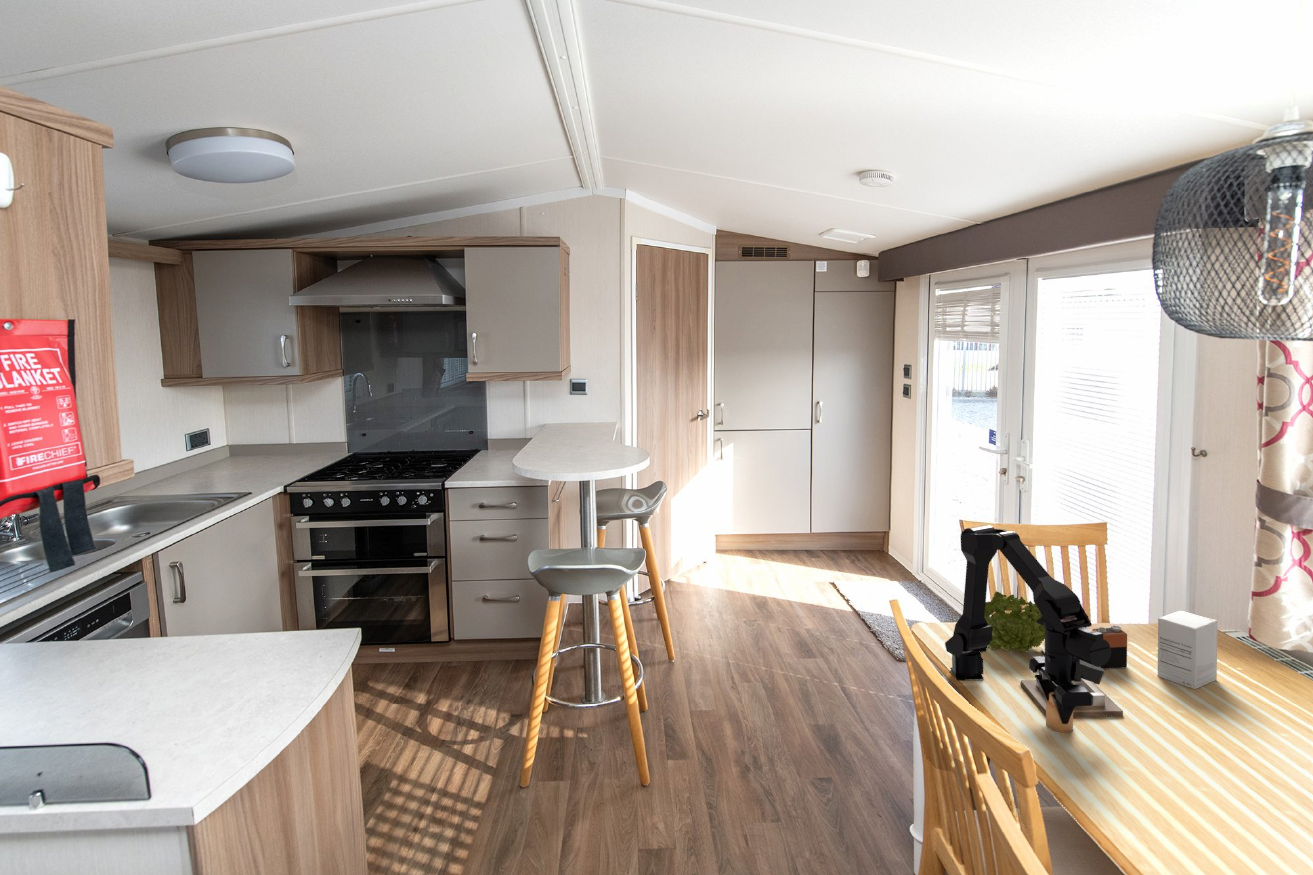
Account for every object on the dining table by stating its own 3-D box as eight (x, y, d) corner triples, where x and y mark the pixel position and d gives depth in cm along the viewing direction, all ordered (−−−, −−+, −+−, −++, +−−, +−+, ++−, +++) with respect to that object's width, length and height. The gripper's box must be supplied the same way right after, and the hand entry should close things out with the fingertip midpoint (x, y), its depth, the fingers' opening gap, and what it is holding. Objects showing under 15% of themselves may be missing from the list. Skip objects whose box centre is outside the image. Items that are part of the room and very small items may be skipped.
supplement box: (1178, 667, 191) (1179, 609, 189) (1217, 680, 183) (1219, 620, 181) (1155, 675, 188) (1156, 617, 186) (1194, 689, 180) (1196, 628, 178)
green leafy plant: (1031, 616, 217) (1062, 594, 204) (1031, 668, 209) (1063, 649, 196) (968, 597, 219) (995, 574, 205) (966, 648, 210) (993, 628, 197)
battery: (1127, 668, 193) (1128, 630, 191) (1100, 669, 193) (1100, 631, 191) (1117, 660, 197) (1118, 623, 196) (1090, 662, 197) (1091, 624, 196)
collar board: (1047, 717, 172) (1047, 701, 171) (1020, 684, 188) (1020, 670, 187) (1122, 716, 170) (1123, 700, 170) (1089, 683, 186) (1089, 669, 185)
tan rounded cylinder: (1051, 732, 165) (1051, 701, 165) (1042, 720, 171) (1042, 690, 170) (1077, 732, 165) (1077, 701, 164) (1066, 720, 170) (1066, 690, 169)
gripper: (1120, 666, 155) (1119, 739, 157) (1079, 631, 174) (1079, 696, 176) (1062, 667, 157) (1062, 739, 159) (1028, 632, 175) (1028, 697, 177)
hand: (1059, 717), depth 167 cm, fingers closed on tan rounded cylinder, 5 cm apart
